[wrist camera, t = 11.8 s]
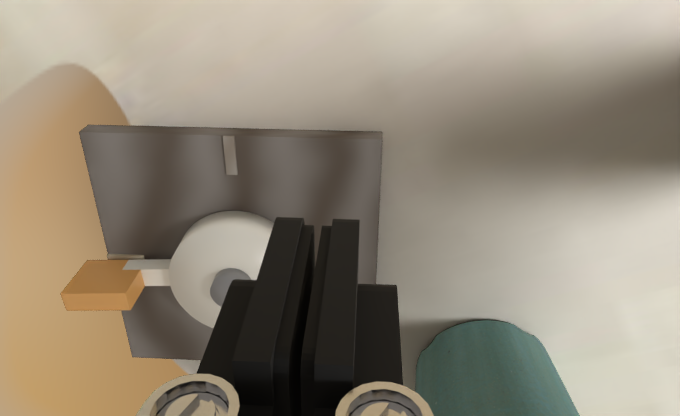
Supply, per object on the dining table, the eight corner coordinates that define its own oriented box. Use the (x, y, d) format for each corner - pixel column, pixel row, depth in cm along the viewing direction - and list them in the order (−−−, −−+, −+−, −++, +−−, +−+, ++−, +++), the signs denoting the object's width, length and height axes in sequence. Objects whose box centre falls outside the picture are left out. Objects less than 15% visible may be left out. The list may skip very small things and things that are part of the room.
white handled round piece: (296, 209, 42) (287, 242, 38) (306, 312, 47) (300, 352, 43) (74, 213, 43) (42, 246, 39) (106, 313, 48) (81, 352, 44)
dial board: (382, 131, 40) (382, 140, 39) (371, 355, 51) (372, 369, 50) (88, 124, 41) (77, 133, 40) (138, 345, 52) (131, 358, 51)
